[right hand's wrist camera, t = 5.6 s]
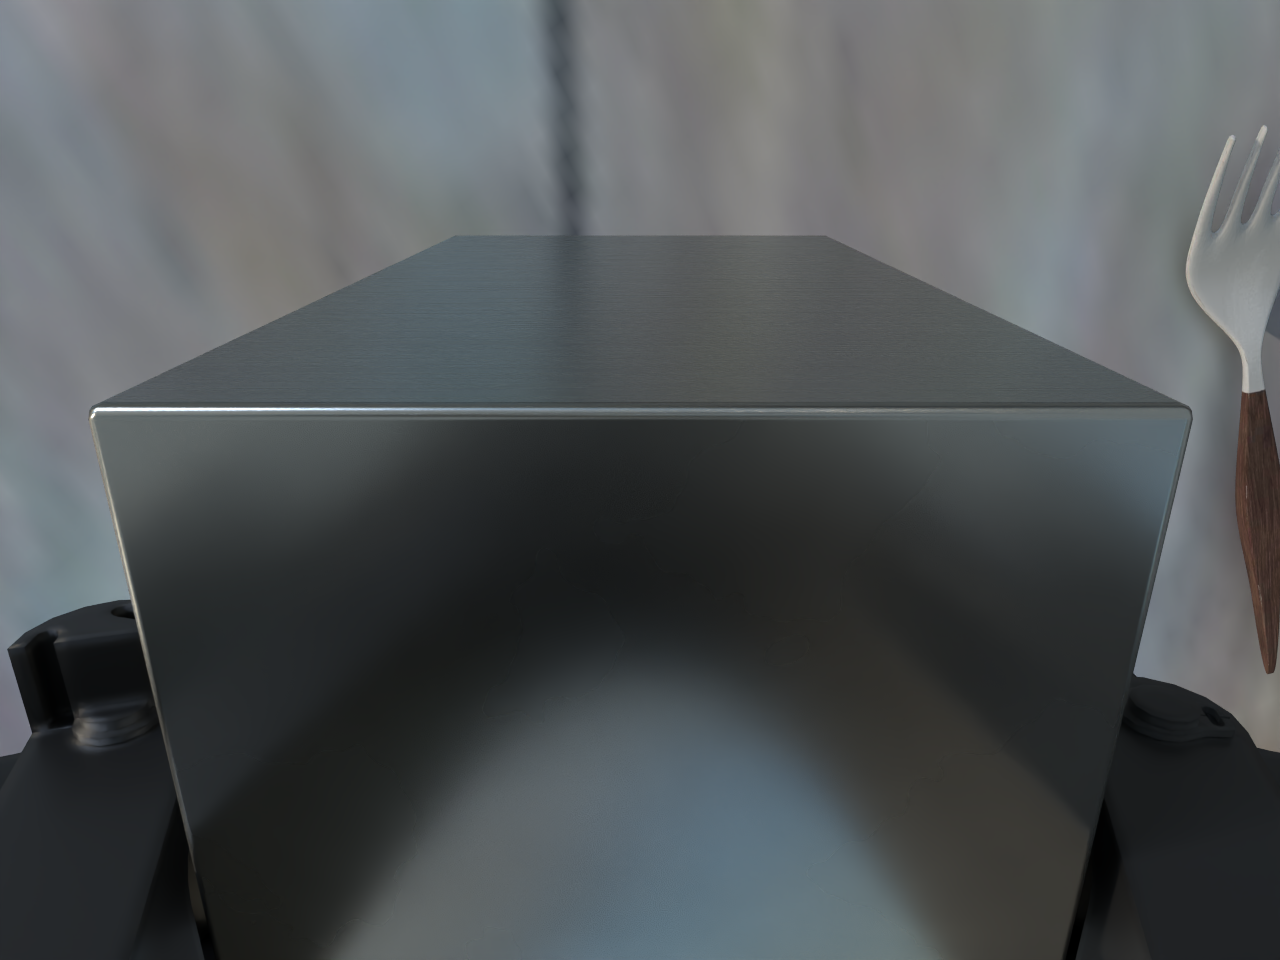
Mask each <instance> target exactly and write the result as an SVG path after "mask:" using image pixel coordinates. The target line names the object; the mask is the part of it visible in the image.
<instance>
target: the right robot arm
mask: <svg viewBox="0 0 1280 960" xmlns="http://www.w3.org/2000/svg"><path fill="white" fill-rule="evenodd" d="M7 650H8V653H9V657H10V660H11V663H12V667H13V670H14V673H15V677H16V680H17V683H18V687H19V690H20V693H21V697H22V700H23V703H24V707H25V710H26V713H27V717H28V720H29V723H30V727H31V730H32V735H31V737H30V739H29V740H28V742H27V744H26V746H25V747H24V749H23V751H22V752H21V753H17V754H13V755H8V756H3V757H0V960H215V956H214V951H213V947H212V943H211V939H210V934H209V930H208V926H207V922H206V917H205V913H204V909H203V905H202V900H201V896H200V892H199V888H198V883H197V879H196V875H195V871H194V866H193V862H192V858H191V854H190V849H189V845H188V841H187V837H186V832H185V828H184V824H183V819H182V815H181V811H180V807H179V802H178V798H177V794H176V790H175V785H174V781H173V777H172V773H171V768H170V764H169V760H168V756H167V751H166V747H165V743H164V739H163V734H162V730H161V726H160V722H159V717H158V713H157V709H156V705H155V700H154V696H153V692H152V687H151V683H150V679H149V675H148V670H147V666H146V662H145V658H144V653H143V649H142V645H141V641H140V636H139V632H138V628H137V624H136V619H135V615H134V611H133V607H132V602H131V600H118V601H112V602H107V603H102V604H97V605H92V606H87V607H83V608H80V609H78V610H75V611H72V612H69V613H66V614H63V615H60V616H57V617H54V618H52V619H50V620H48V621H46V622H44V623H43V624H41V625H39V626H37V627H35V628H33V629H31V630H29V631H28V632H26V633H24V634H23V635H22V636H21V637H20V638H19V639H18V640H17V641H16V642H15V643H13V644H12V645H11V646H10V647H9V648H8V649H7ZM1065 960H1280V753H1279V752H1273V751H1268V750H1264V749H1260V748H1257V747H1256V746H1255V744H1254V742H1253V740H1252V739H1251V737H1250V735H1249V733H1248V732H1247V731H1246V730H1245V728H1244V727H1243V726H1242V725H1241V724H1240V723H1239V722H1238V721H1237V720H1236V718H1235V717H1234V716H1233V715H1232V714H1231V713H1229V712H1228V711H1226V710H1225V709H1223V708H1221V707H1220V706H1218V705H1217V704H1215V703H1214V702H1212V701H1211V700H1209V699H1207V698H1206V697H1204V696H1201V695H1199V694H1196V693H1194V692H1191V691H1189V690H1187V689H1184V688H1182V687H1179V686H1177V685H1174V684H1170V683H1165V682H1161V681H1157V680H1152V679H1148V678H1144V677H1136V676H1135V675H1134V674H1133V675H1132V679H1131V684H1130V688H1129V692H1128V696H1127V701H1126V705H1125V709H1124V713H1123V718H1122V722H1121V726H1120V730H1119V735H1118V739H1117V743H1116V747H1115V752H1114V756H1113V760H1112V764H1111V768H1110V773H1109V777H1108V781H1107V785H1106V790H1105V794H1104V798H1103V802H1102V807H1101V811H1100V815H1099V819H1098V824H1097V828H1096V832H1095V836H1094V841H1093V845H1092V849H1091V853H1090V858H1089V862H1088V866H1087V870H1086V875H1085V879H1084V883H1083V887H1082V892H1081V896H1080V900H1079V904H1078V909H1077V913H1076V917H1075V921H1074V926H1073V930H1072V934H1071V938H1070V942H1069V947H1068V951H1067V955H1066V959H1065Z"/></svg>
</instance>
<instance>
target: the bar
mask: <svg viewBox="0 0 1280 960" xmlns="http://www.w3.org/2000/svg"><path fill="white" fill-rule="evenodd" d="M1192 420H1193V418H1192V411H1191V409H1190V407H1189V406H1187V405H1185V404H1183V403H1180V402H1178V401H1176V400H1174V399H1172V398H1170V397H1168V396H1166V395H1163V394H1161V393H1159V392H1157V391H1155V390H1153V389H1151V388H1149V387H1146V386H1144V385H1142V384H1140V383H1138V382H1136V381H1134V380H1132V379H1129V378H1127V377H1125V376H1123V375H1121V374H1119V373H1117V372H1115V371H1112V370H1110V369H1108V368H1106V367H1104V366H1102V365H1100V364H1098V363H1095V362H1093V361H1091V360H1089V359H1087V358H1085V357H1083V356H1080V355H1078V354H1076V353H1074V352H1072V351H1070V350H1068V349H1066V348H1063V347H1061V346H1059V345H1057V344H1055V343H1053V342H1051V341H1049V340H1046V339H1044V338H1042V337H1040V336H1038V335H1036V334H1034V333H1032V332H1029V331H1027V330H1025V329H1023V328H1021V327H1019V326H1017V325H1015V324H1012V323H1010V322H1008V321H1006V320H1004V319H1002V318H1000V317H998V316H995V315H993V314H991V313H989V312H987V311H985V310H983V309H980V308H978V307H976V306H974V305H972V304H970V303H968V302H966V301H963V300H961V299H959V298H957V297H955V296H953V295H951V294H949V293H946V292H944V291H942V290H940V289H938V288H936V287H934V286H932V285H929V284H927V283H925V282H923V281H921V280H919V279H917V278H915V277H912V276H910V275H908V274H906V273H904V272H902V271H900V270H898V269H895V268H893V267H891V266H889V265H887V264H885V263H883V262H880V261H878V260H876V259H874V258H872V257H870V256H868V255H866V254H863V253H861V252H859V251H857V250H855V249H853V248H851V247H849V246H846V245H844V244H842V243H840V242H838V241H836V240H834V239H832V238H829V237H827V236H453V237H451V238H449V239H447V240H445V241H443V242H441V243H438V244H436V245H434V246H432V247H430V248H428V249H426V250H424V251H421V252H419V253H417V254H415V255H413V256H411V257H409V258H407V259H404V260H402V261H400V262H398V263H396V264H394V265H392V266H390V267H387V268H385V269H383V270H381V271H379V272H377V273H375V274H373V275H370V276H368V277H366V278H364V279H362V280H360V281H358V282H356V283H353V284H351V285H349V286H347V287H345V288H343V289H341V290H339V291H336V292H334V293H332V294H330V295H328V296H326V297H324V298H321V299H319V300H317V301H315V302H313V303H311V304H309V305H307V306H304V307H302V308H300V309H298V310H296V311H294V312H292V313H290V314H287V315H285V316H283V317H281V318H279V319H277V320H275V321H273V322H270V323H268V324H266V325H264V326H262V327H260V328H258V329H256V330H253V331H251V332H249V333H247V334H245V335H243V336H241V337H239V338H236V339H234V340H232V341H230V342H228V343H226V344H224V345H222V346H219V347H217V348H215V349H213V350H211V351H209V352H207V353H205V354H202V355H200V356H198V357H196V358H194V359H192V360H190V361H187V362H185V363H183V364H181V365H179V366H177V367H175V368H173V369H170V370H168V371H166V372H164V373H162V374H160V375H158V376H156V377H153V378H151V379H149V380H147V381H145V382H143V383H141V384H139V385H136V386H134V387H132V388H130V389H128V390H126V391H124V392H122V393H119V394H117V395H115V396H113V397H111V398H109V399H107V400H105V401H102V402H100V403H98V404H96V405H94V406H92V408H91V409H90V412H89V423H90V428H91V432H92V436H93V441H94V445H95V449H96V453H97V458H98V462H99V466H100V470H101V475H102V479H103V483H104V487H105V492H106V496H107V500H108V504H109V509H110V513H111V517H112V521H113V526H114V530H115V534H116V538H117V543H118V547H119V551H120V555H121V560H122V564H123V568H124V573H125V577H126V581H127V585H128V590H129V594H130V598H131V602H132V607H133V611H134V615H135V619H136V624H137V628H138V632H139V636H140V641H141V645H142V649H143V653H144V658H145V662H146V666H147V670H148V675H149V679H150V683H151V687H152V692H153V696H154V700H155V705H156V709H157V713H158V717H159V722H160V726H161V730H162V734H163V739H164V743H165V747H166V751H167V756H168V760H169V764H170V768H171V773H172V777H173V781H174V785H175V790H176V794H177V798H178V802H179V807H180V811H181V815H182V819H183V824H184V828H185V832H186V837H187V841H188V845H189V849H190V854H191V858H192V862H193V866H194V871H195V875H196V879H197V883H198V888H199V892H200V896H201V900H202V905H203V909H204V913H205V917H206V922H207V926H208V930H209V934H210V939H211V943H212V947H213V951H214V956H215V960H1065V959H1066V955H1067V951H1068V947H1069V942H1070V938H1071V934H1072V930H1073V926H1074V921H1075V917H1076V913H1077V909H1078V904H1079V900H1080V896H1081V892H1082V887H1083V883H1084V879H1085V875H1086V870H1087V866H1088V862H1089V858H1090V853H1091V849H1092V845H1093V841H1094V836H1095V832H1096V828H1097V824H1098V819H1099V815H1100V811H1101V807H1102V802H1103V798H1104V794H1105V790H1106V785H1107V781H1108V777H1109V773H1110V768H1111V764H1112V760H1113V756H1114V752H1115V747H1116V743H1117V739H1118V735H1119V730H1120V726H1121V722H1122V718H1123V713H1124V709H1125V705H1126V701H1127V696H1128V692H1129V688H1130V684H1131V679H1132V675H1133V671H1134V667H1135V662H1136V658H1137V654H1138V650H1139V645H1140V641H1141V637H1142V633H1143V628H1144V624H1145V620H1146V616H1147V611H1148V607H1149V603H1150V599H1151V594H1152V590H1153V586H1154V582H1155V578H1156V573H1157V569H1158V565H1159V561H1160V556H1161V552H1162V548H1163V544H1164V539H1165V535H1166V531H1167V527H1168V522H1169V518H1170V514H1171V510H1172V505H1173V501H1174V497H1175V493H1176V488H1177V484H1178V480H1179V476H1180V471H1181V467H1182V463H1183V459H1184V454H1185V450H1186V446H1187V442H1188V437H1189V433H1190V429H1191V425H1192Z"/></svg>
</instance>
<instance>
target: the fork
mask: <svg viewBox="0 0 1280 960" xmlns="http://www.w3.org/2000/svg"><path fill="white" fill-rule="evenodd" d="M1267 131H1268V128H1267V127H1266V126H1265V125H1264V126H1262V128H1261V130H1260V132H1259V134H1258V136H1257V138H1256V140H1255V143H1254V145H1253V148H1252V150H1251V152H1250V155H1249V157H1248V159H1247V162H1246V164H1245V167H1244V169H1243V172H1242V174H1241V176H1240V179H1239V182H1238V184H1237V187H1236V189H1235V192H1234V194H1233V197H1232V200H1231V203H1230V205H1229V208H1228V211H1227V214H1226V216H1225V219H1224V221H1223V223H1222V225H1221V227H1220V228H1219V229H1218V231H1216V232H1212V229H1211V228H1212V221H1213V215H1214V211H1215V207H1216V203H1217V200H1218V196H1219V192H1220V188H1221V185H1222V181H1223V178H1224V174H1225V171H1226V167H1227V164H1228V161H1229V157H1230V154H1231V151H1232V148H1233V146H1234V143H1235V141H1236V137H1235V136H1234V135H1231V136H1229V138H1228V140H1227V143H1226V145H1225V148H1224V150H1223V153H1222V155H1221V158H1220V160H1219V163H1218V165H1217V168H1216V171H1215V173H1214V176H1213V179H1212V181H1211V184H1210V187H1209V189H1208V192H1207V195H1206V197H1205V200H1204V203H1203V206H1202V209H1201V212H1200V215H1199V218H1198V222H1197V225H1196V228H1195V232H1194V235H1193V238H1192V242H1191V245H1190V249H1189V253H1188V257H1187V263H1186V278H1187V283H1188V286H1189V289H1190V291H1191V293H1192V295H1193V297H1194V299H1195V300H1196V302H1197V303H1198V304H1199V306H1200V307H1201V308H1202V309H1203V310H1204V312H1205V313H1206V314H1207V315H1208V316H1209V317H1210V318H1211V319H1212V320H1213V321H1214V322H1215V323H1216V324H1217V325H1218V326H1219V327H1220V328H1221V329H1222V330H1223V331H1224V332H1225V333H1226V334H1227V335H1228V336H1229V337H1230V338H1231V340H1232V341H1233V342H1234V343H1235V345H1236V346H1237V348H1238V350H1239V352H1240V355H1241V358H1242V365H1243V384H1242V399H1241V413H1240V425H1239V438H1238V450H1237V465H1236V488H1235V498H1236V514H1237V522H1238V528H1239V533H1240V539H1241V544H1242V549H1243V553H1244V558H1245V563H1246V568H1247V573H1248V577H1249V583H1250V588H1251V594H1252V600H1253V607H1254V613H1255V620H1256V626H1257V632H1258V638H1259V644H1260V649H1261V654H1262V659H1263V663H1264V667H1265V670H1266V673H1267V674H1271V673H1273V672H1274V670H1275V666H1276V659H1277V648H1278V634H1279V615H1280V464H1279V459H1278V453H1277V448H1276V443H1275V438H1274V433H1273V428H1272V422H1271V417H1270V412H1269V407H1268V402H1267V397H1266V391H1265V386H1264V380H1263V373H1262V363H1261V350H1262V342H1263V337H1264V333H1265V329H1266V326H1267V323H1268V319H1269V316H1270V313H1271V310H1272V307H1273V305H1274V302H1275V299H1276V296H1277V293H1278V290H1279V287H1280V210H1279V211H1278V212H1277V213H1276V214H1275V215H1271V206H1272V201H1273V198H1274V194H1275V191H1276V188H1277V184H1278V181H1279V178H1280V149H1279V151H1278V153H1277V156H1276V158H1275V160H1274V162H1273V165H1272V167H1271V169H1270V172H1269V174H1268V176H1267V179H1266V181H1265V184H1264V186H1263V189H1262V191H1261V194H1260V196H1259V199H1258V202H1257V204H1256V207H1255V209H1254V211H1253V213H1252V215H1251V217H1250V219H1249V220H1248V221H1247V222H1246V223H1245V224H1242V223H1241V215H1242V211H1243V206H1244V202H1245V199H1246V195H1247V192H1248V189H1249V185H1250V182H1251V179H1252V175H1253V172H1254V169H1255V166H1256V162H1257V159H1258V156H1259V153H1260V150H1261V147H1262V145H1263V142H1264V139H1265V137H1266V134H1267Z"/></svg>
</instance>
